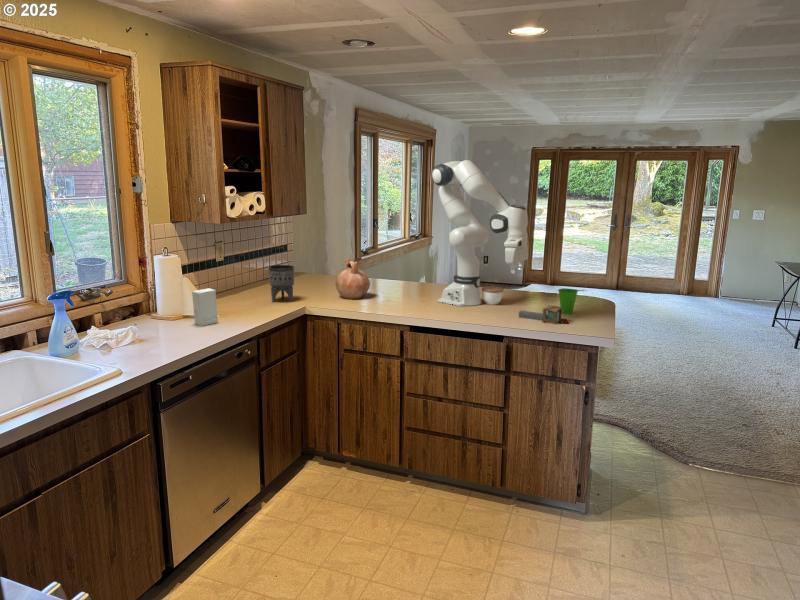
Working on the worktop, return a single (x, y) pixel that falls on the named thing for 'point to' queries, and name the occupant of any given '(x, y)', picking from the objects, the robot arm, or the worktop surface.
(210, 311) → the skincare box
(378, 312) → the worktop surface
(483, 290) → the lidded jar
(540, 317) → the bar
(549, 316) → the block
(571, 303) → the cup
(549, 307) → the cover
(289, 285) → the planter
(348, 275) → the jug
